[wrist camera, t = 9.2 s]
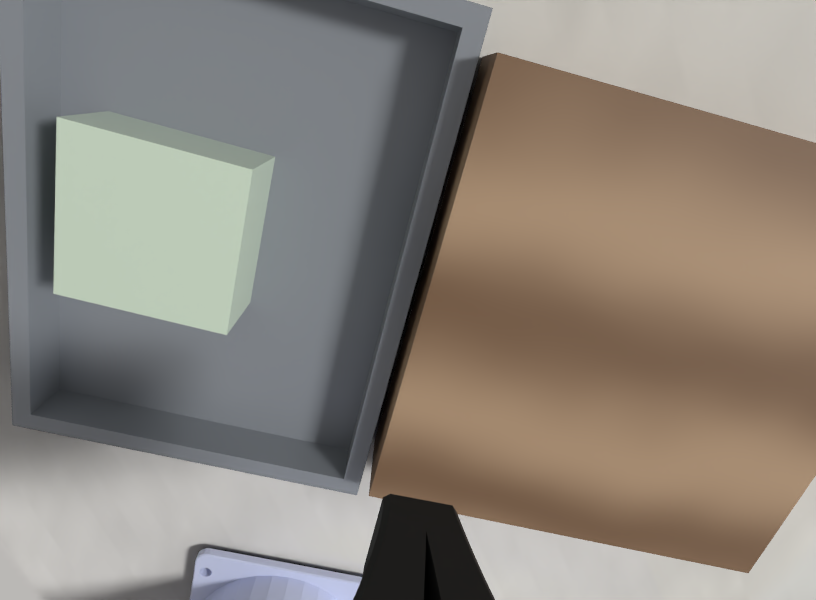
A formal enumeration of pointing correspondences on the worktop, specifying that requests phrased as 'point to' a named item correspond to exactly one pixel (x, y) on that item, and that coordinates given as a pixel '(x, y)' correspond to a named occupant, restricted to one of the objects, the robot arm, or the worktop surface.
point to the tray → (283, 225)
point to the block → (157, 219)
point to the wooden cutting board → (612, 323)
